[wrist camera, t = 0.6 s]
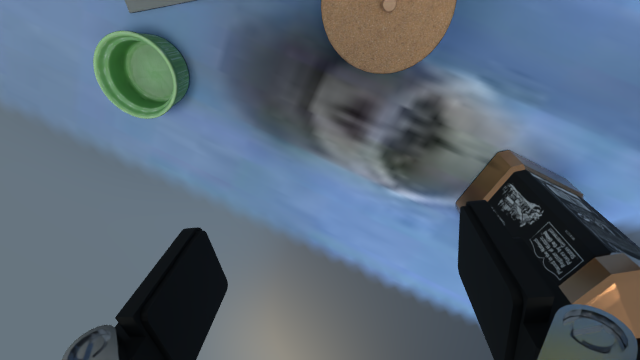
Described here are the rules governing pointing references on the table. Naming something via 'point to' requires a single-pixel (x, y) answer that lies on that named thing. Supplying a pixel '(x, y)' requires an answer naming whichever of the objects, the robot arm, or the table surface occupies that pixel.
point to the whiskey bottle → (563, 235)
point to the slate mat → (150, 4)
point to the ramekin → (140, 73)
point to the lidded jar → (385, 31)
